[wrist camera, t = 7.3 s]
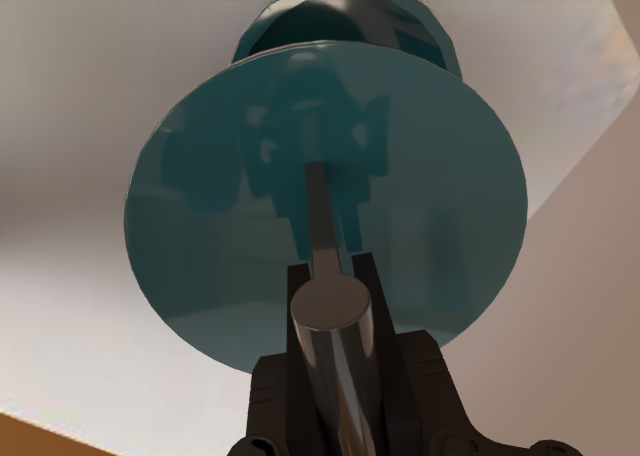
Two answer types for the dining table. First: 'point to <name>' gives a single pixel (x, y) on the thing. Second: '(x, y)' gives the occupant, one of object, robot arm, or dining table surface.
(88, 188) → the dining table surface
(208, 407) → the dining table surface
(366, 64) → the lid
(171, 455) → the dining table surface
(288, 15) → the pot
